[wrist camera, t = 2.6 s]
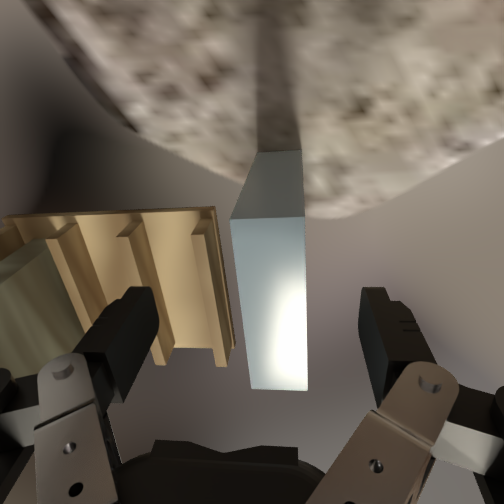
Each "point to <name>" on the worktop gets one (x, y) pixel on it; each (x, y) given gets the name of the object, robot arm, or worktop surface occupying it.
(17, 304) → the dish rack
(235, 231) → the pale blue-grey block
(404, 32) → the worktop surface
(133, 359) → the robot arm
